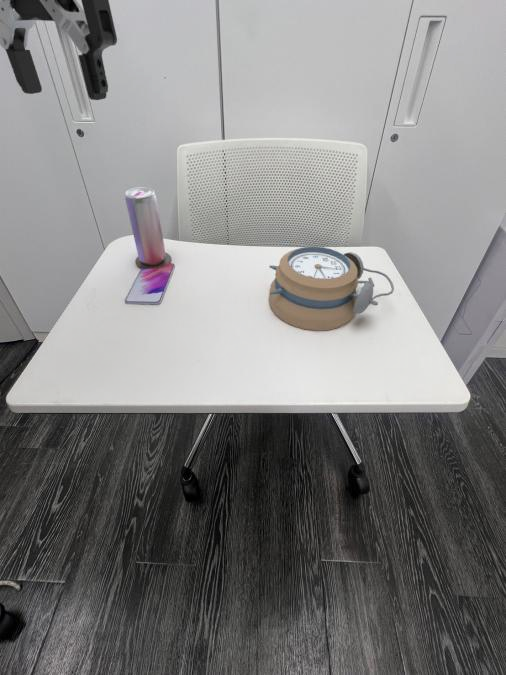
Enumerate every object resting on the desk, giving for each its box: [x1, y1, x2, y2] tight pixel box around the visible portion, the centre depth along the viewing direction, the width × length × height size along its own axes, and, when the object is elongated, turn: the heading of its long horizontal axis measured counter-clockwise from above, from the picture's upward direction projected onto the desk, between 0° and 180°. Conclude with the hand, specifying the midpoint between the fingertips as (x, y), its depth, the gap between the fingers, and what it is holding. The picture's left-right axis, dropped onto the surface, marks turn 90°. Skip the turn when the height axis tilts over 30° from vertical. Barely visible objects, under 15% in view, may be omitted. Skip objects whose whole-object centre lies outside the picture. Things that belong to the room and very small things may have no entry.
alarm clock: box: [268, 246, 395, 331], centre depth 65 cm, size 17×9×23 cm
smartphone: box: [124, 262, 176, 306], centre depth 71 cm, size 7×1×15 cm
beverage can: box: [124, 186, 167, 265], centre depth 72 cm, size 6×6×15 cm
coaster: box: [134, 251, 172, 270], centre depth 78 cm, size 8×8×1 cm
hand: (65, 96), depth 38 cm, fingers open, 8 cm apart
